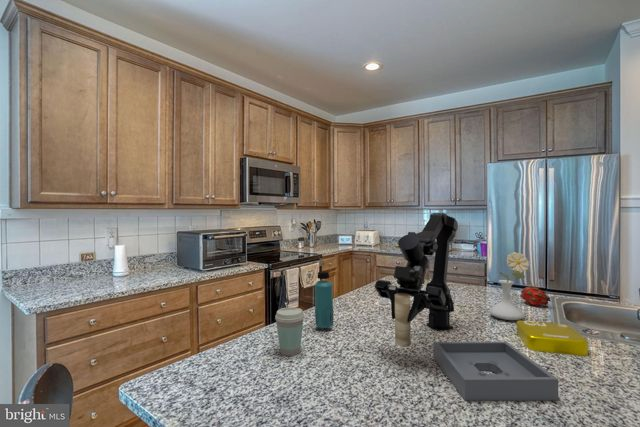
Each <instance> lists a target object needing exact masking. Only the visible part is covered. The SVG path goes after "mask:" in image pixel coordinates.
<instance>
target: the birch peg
mask: <svg viewBox="0 0 640 427" xmlns="http://www.w3.org/2000/svg"><path fill="white" fill-rule="evenodd" d="M410 309H411V296H410V295H409V294H406V293H396V294H395V319H394V335H395V336H394V342H395V345H397V346H399V347H410V346H411V343H412V340H411V337H412V336H411V333H412V332H411V329H412V328H411V322H410V323H409V322H408V315H409V312H410Z"/></svg>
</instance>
